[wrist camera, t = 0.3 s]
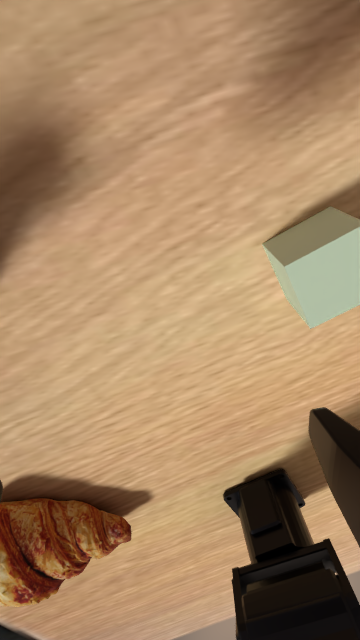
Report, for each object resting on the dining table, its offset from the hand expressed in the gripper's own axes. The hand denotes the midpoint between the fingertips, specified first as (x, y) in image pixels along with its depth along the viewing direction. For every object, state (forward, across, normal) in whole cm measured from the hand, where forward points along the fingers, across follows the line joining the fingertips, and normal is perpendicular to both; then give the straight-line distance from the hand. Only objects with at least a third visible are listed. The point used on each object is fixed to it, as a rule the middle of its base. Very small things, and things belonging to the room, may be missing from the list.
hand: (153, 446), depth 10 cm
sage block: (+14, -10, +1) cm, 17 cm away
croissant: (+14, +17, +23) cm, 32 cm away
